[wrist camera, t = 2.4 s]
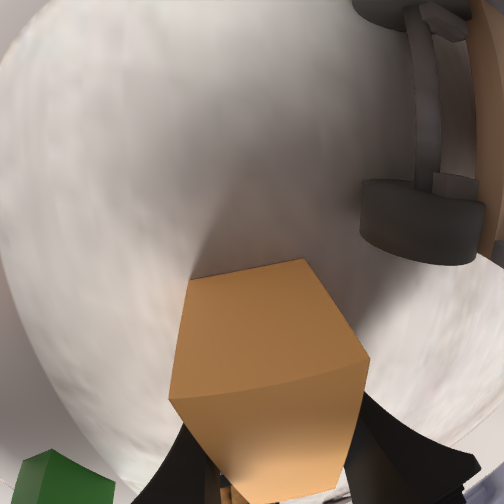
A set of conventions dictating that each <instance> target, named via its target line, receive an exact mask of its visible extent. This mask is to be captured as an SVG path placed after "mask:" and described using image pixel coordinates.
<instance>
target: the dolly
mask: <svg viewBox="0 0 504 504" xmlns="http://www.w3.org/2000/svg"><path fill="white" fill-rule="evenodd" d="M352 2H353V6H354V9H355V10H356V12H357V13H358V14H359V15H361V16H362V17H363V18H365V19H366V20H368V21H370V22H372V23H374V24H377V25H379V26H382V27H385V28H389V29H393V30H397V31H402V32H407V35H408V41H409V47H410V53H411V61H412V69H413V79H414V91H415V109H416V159H415V177H414V182H410V181H402V180H390V179H370V180H365V181H363V191H362V206H361V218H360V229H359V231H360V234H361V236H362V237H363V238H364V239H365V240H366V241H367V242H369V243H370V244H372V245H373V246H375V247H377V248H379V249H381V250H383V251H386V252H388V253H391V254H393V255H396V256H399V257H402V258H406V259H409V260H413V261H417V262H422V263H428V264H434V265H444V266H457V265H464V264H468V263H470V262H472V261H473V260H474V259H475V258H476V254H477V253H479V254H481V255H482V256H484V257H486V258H487V259H489V260H491V261H492V262H494V263H495V264H497V265H498V266H500V267H502V268H503V269H504V0H352ZM431 34H433V35H434V34H438V35H440V36H442V37H444V38H446V39H447V40H449V41H451V42H453V43H454V42H458V41H463V40H466V43H467V48H468V53H469V58H470V64H471V70H472V77H473V85H474V95H475V108H476V168H475V179H471V178H468V177H464V176H460V175H454V174H448V173H441V172H440V161H441V108H440V93H439V82H438V73H437V65H436V58H435V52H434V46H433V40H432V35H431Z"/></svg>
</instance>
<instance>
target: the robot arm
mask: <svg viewBox="0 0 504 504" xmlns="http://www.w3.org/2000/svg"><path fill="white" fill-rule="evenodd" d="M344 469H345V473H346V477H347V481H348V485H349V489H350V493H351V498H352V503H353V504H504V462H503V463H502V464H500V465H499V466H498V467H497V468H496V469H495V470H493V472H491V473H490V474H488V475H487V476H485V477H484V478H483V479H481V480H480V481H479V482H477V483H476V484H475V485H474V486H472V487H471V488H470V489H468V490H467V491H466V492H465V493H464V494H462V491H463V490H464V487H463V485H462V484H463V483H465V482H466V481H467V480H469V479H470V478H472V477H473V476H474V475H475V474H477V473H478V472H479V471H480V470H481V466H480V465H479V463H478V461H477V460H476V458H475V456H474V455H473V454H469V453H465V452H462V451H458V450H455V449H451V448H449V447H446V446H444V445H441V444H439V443H437V442H435V441H433V440H431V439H428V438H426V437H424V436H422V435H421V434H419V433H417V432H415V431H414V430H412V429H410V428H409V427H407V426H406V425H404V424H403V423H401V422H400V421H399V420H397V419H396V418H395V417H393V416H392V415H391V414H389V413H388V412H387V411H386V410H385V409H383V408H382V407H381V406H380V405H379V404H378V403H376V402H375V401H374V400H373V399H372V398H371V397H370V396H369V395H368V394H367V393H366V392H365V391H364V394H363V398H362V402H361V407H360V411H359V415H358V419H357V423H356V426H355V430H354V433H353V437H352V440H351V444H350V447H349V450H348V453H347V457H346V460H345V463H344ZM131 504H222V503H221V493H220V470H219V469H218V467H217V466H216V465H215V464H214V462H213V461H212V460H211V459H210V457H209V456H208V455H207V454H206V452H205V451H204V450H203V448H202V447H201V446H200V444H199V443H198V442H197V440H196V439H195V438H194V436H193V435H192V434H191V432H190V431H189V429H188V428H187V426H186V425H185V424H184V422H183V425H182V427H181V429H180V432H179V434H178V436H177V438H176V440H175V442H174V444H173V446H172V447H171V449H170V451H169V453H168V455H167V456H166V458H165V460H164V461H163V463H162V464H161V466H160V468H159V469H158V471H157V472H156V473H155V475H154V476H153V478H152V479H151V480H150V482H149V483H148V484H147V486H146V487H145V488H144V489H143V490H142V492H141V493H140V494H139V495H138V496H137V497H136V498H135V499H134V501H133V502H132V503H131Z"/></svg>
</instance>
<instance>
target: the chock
mask: <svg viewBox="0 0 504 504" xmlns="http://www.w3.org/2000/svg"><path fill="white" fill-rule="evenodd" d="M369 363H370V357H369V356H368V354H367V352H366V351H365V349H364V348H363V346H362V344H361V343H360V341H359V340H358V338H357V337H356V335H355V333H354V332H353V330H352V329H351V327H350V326H349V324H348V323H347V321H346V320H345V318H344V317H343V315H342V314H341V312H340V310H339V309H338V307H337V306H336V304H335V303H334V301H333V300H332V298H331V297H330V295H329V294H328V292H327V291H326V289H325V288H324V287H323V285H322V284H321V282H320V281H319V279H318V278H317V276H316V275H315V273H314V272H313V270H312V269H311V268H310V266H309V265H308V263H307V262H306V260H305V259H304V258H302V259H297V260H292V261H287V262H282V263H277V264H272V265H267V266H262V267H257V268H252V269H247V270H242V271H236V272H231V273H226V274H221V275H215V276H210V277H205V278H199V279H194V280H189V282H188V287H187V292H186V297H185V302H184V307H183V312H182V317H181V323H180V328H179V334H178V340H177V345H176V351H175V358H174V364H173V370H172V377H171V384H170V391H169V398H168V399H169V401H170V402H171V404H172V406H173V407H174V409H175V410H176V412H177V413H178V415H179V416H180V418H181V419H182V421H183V422H184V424H185V425H186V426H187V428H188V429H189V431H190V432H191V434H192V435H193V436H194V438H195V439H196V440H197V442H198V443H199V444H200V446H201V447H202V448H203V450H204V451H205V452H206V454H207V455H208V456H209V457H210V459H211V460H212V461H213V462H214V464H215V465H216V466H217V467H218V469H219V470H220V471H221V472H222V473H223V475H224V476H225V477H226V478H227V479H228V480H229V481H230V483H231V484H232V485H233V486H234V487H235V488H236V489H237V490H238V492H239V493H240V494H241V495H242V496H243V497H244V498H245V499H246V500H247V501H248V502H249V503H250V504H268V503H275V502H280V501H286V500H291V499H296V498H301V497H305V496H309V495H313V494H317V493H321V492H325V491H328V490H332V489H335V488H336V485H337V482H338V480H339V477H340V474H341V471H342V468H343V466H344V463H345V460H346V457H347V453H348V450H349V447H350V444H351V440H352V437H353V433H354V430H355V426H356V423H357V419H358V415H359V411H360V407H361V402H362V398H363V394H364V389H365V384H366V379H367V374H368V369H369Z"/></svg>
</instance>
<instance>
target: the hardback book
mask: <svg viewBox="0 0 504 504" xmlns="http://www.w3.org/2000/svg"><path fill="white" fill-rule="evenodd" d="M114 490H115V482H114V481H112V480H110V479H108V478H105V477H103V476H101V475H99V474H97V473H95V472H93V471H91V470H89V469H87V468H85V467H83V466H81V465H79V464H77V463H75V462H74V461H72V460H70V459H68V458H66V457H65V456H63V455H61V454H60V453H58V452H56V451H55V450H53V449H50V450H48V451H46V452H43V453H41V454H39V455H36V456H34V457H31V458H29V459H26V460H23V463H22V465H21V469H20V472H19V475H18V478H17V482H16V485H15V489H14V493H13V497H12V501H11V504H113V497H114Z"/></svg>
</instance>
